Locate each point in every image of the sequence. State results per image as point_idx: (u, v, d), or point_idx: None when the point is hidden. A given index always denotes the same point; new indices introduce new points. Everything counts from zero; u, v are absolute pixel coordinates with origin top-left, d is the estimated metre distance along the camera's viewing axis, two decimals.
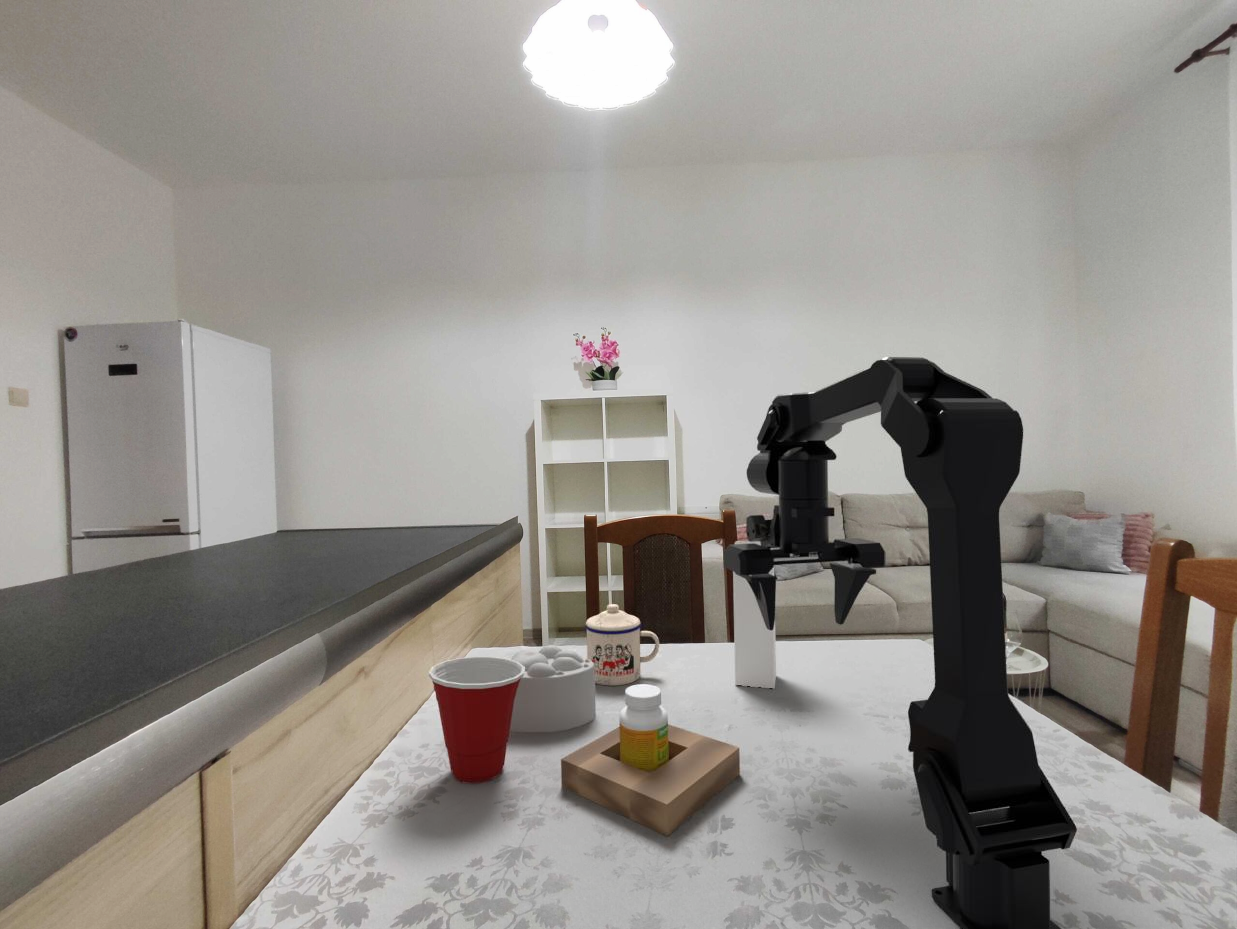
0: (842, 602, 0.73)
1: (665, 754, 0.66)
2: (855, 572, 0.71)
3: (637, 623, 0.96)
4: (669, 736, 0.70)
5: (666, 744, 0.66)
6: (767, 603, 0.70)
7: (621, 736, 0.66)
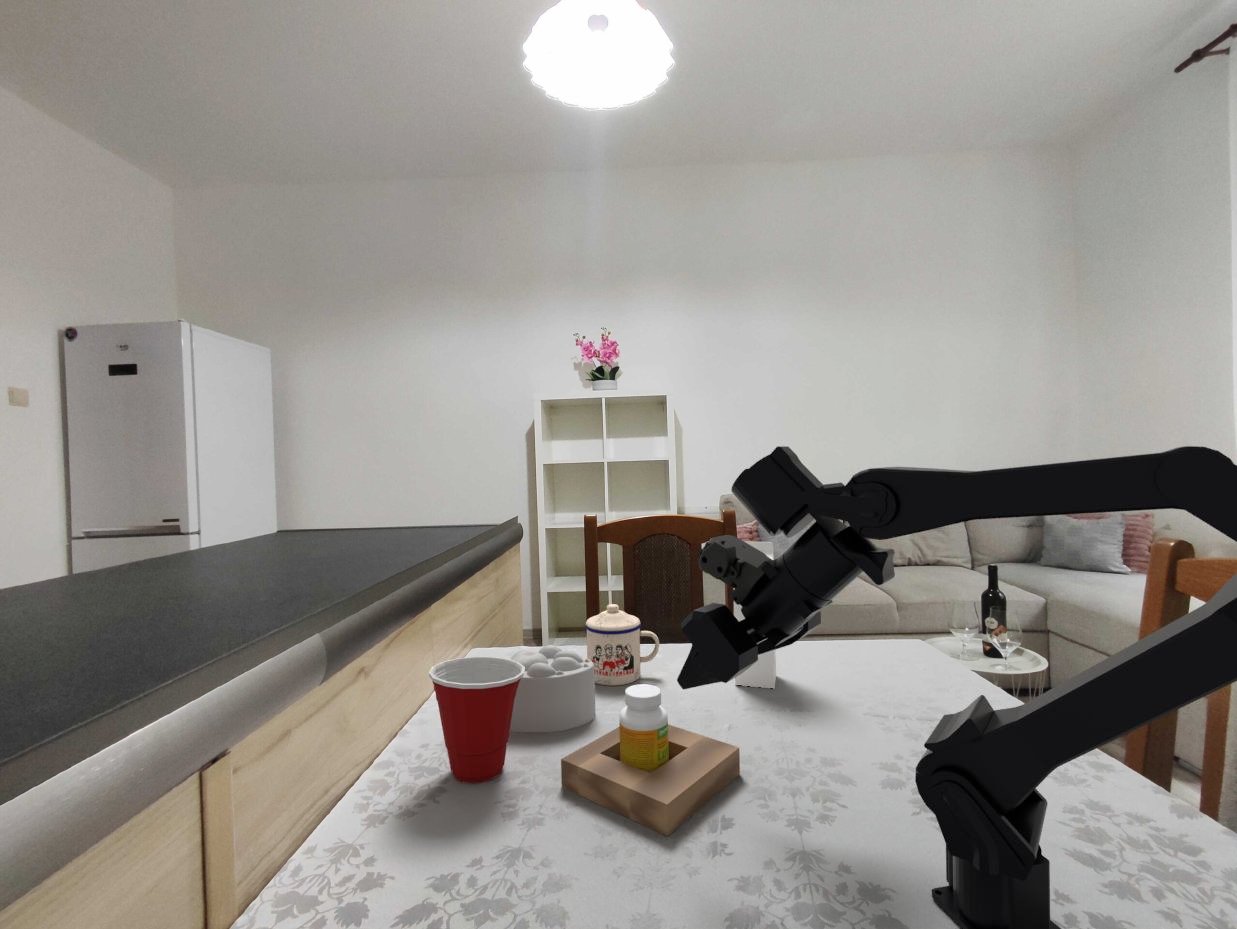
0: None
1: (665, 754, 0.66)
2: (789, 642, 0.61)
3: (637, 623, 0.96)
4: (669, 736, 0.70)
5: (666, 744, 0.66)
6: None
7: (621, 736, 0.66)
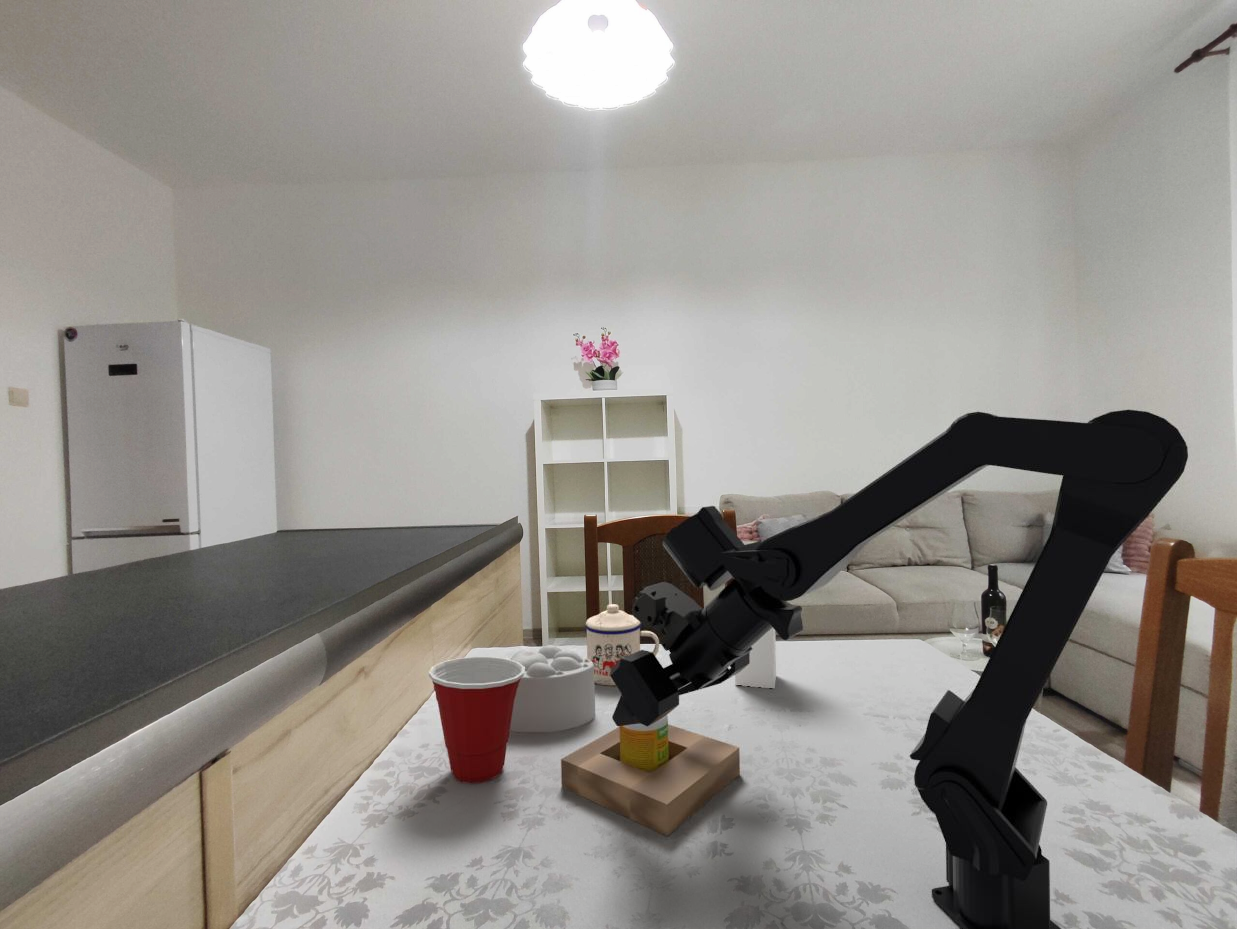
0: (683, 687, 0.69)
1: (665, 754, 0.66)
2: (718, 681, 0.67)
3: (637, 623, 0.96)
4: (669, 736, 0.70)
5: (666, 744, 0.66)
6: (637, 723, 0.60)
7: (621, 736, 0.66)
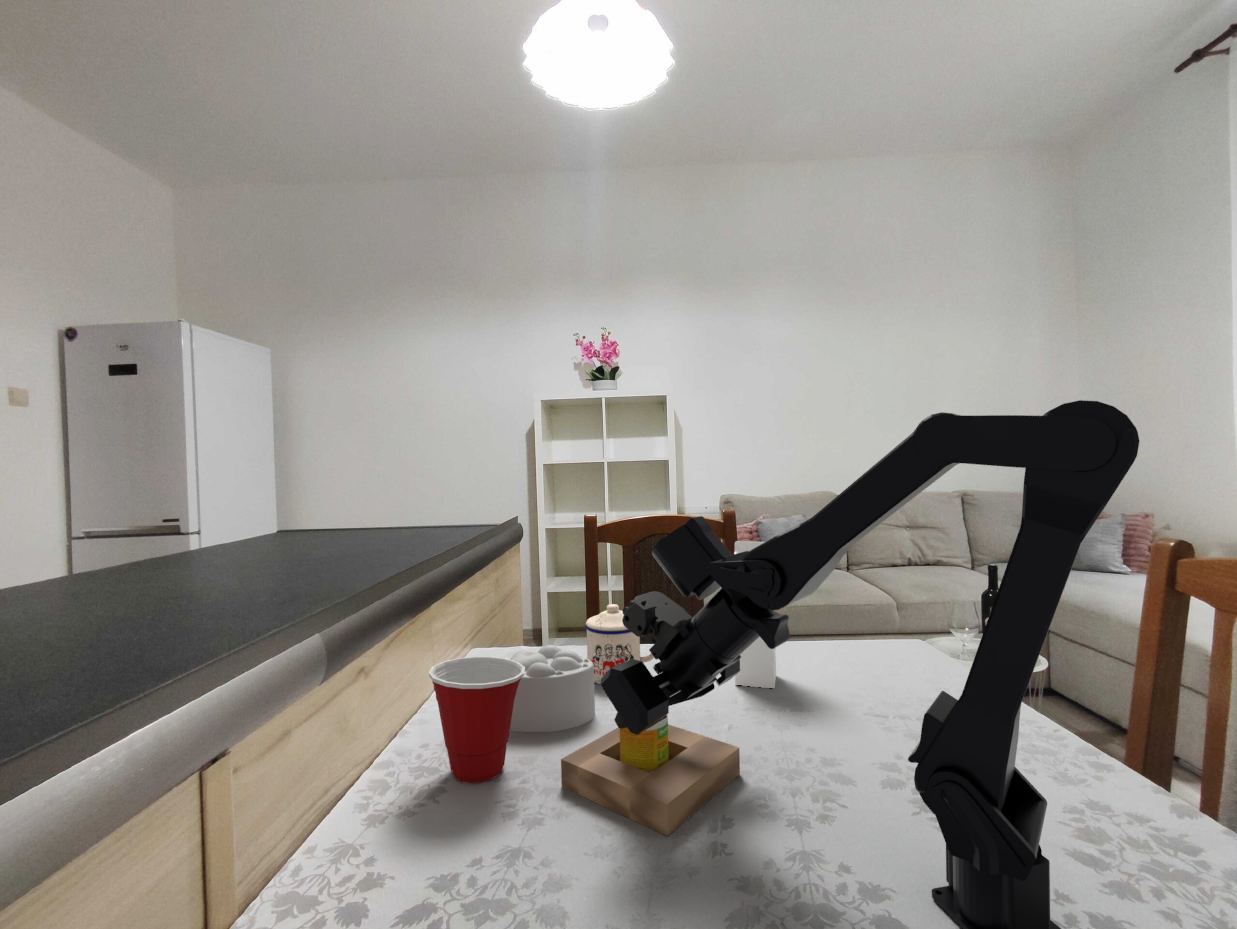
0: None
1: (665, 754, 0.66)
2: (700, 694, 0.66)
3: None
4: (669, 736, 0.70)
5: (666, 744, 0.66)
6: None
7: (621, 736, 0.66)
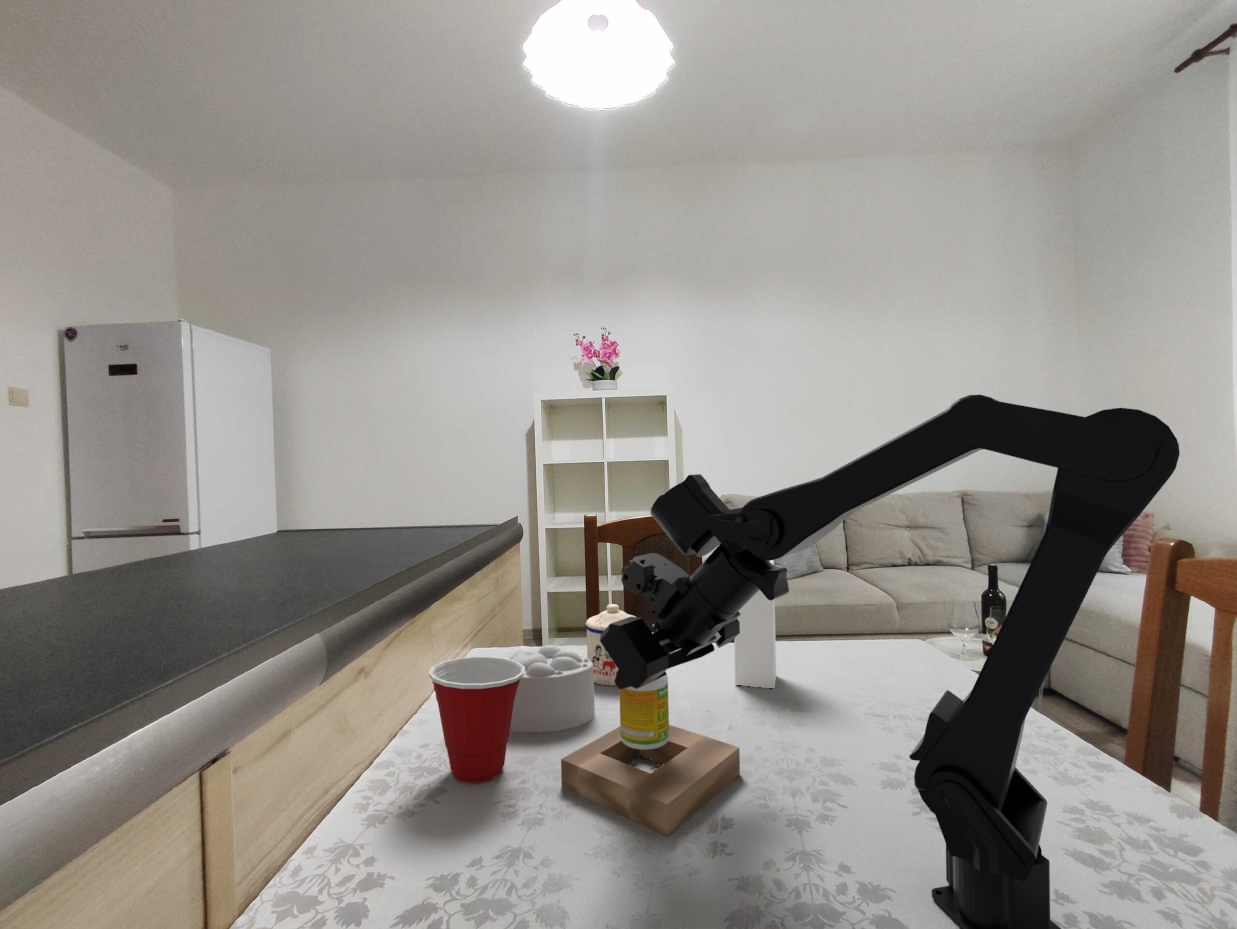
0: None
1: (665, 715, 0.65)
2: (700, 654, 0.66)
3: None
4: (669, 736, 0.70)
5: (666, 705, 0.66)
6: None
7: (621, 697, 0.66)
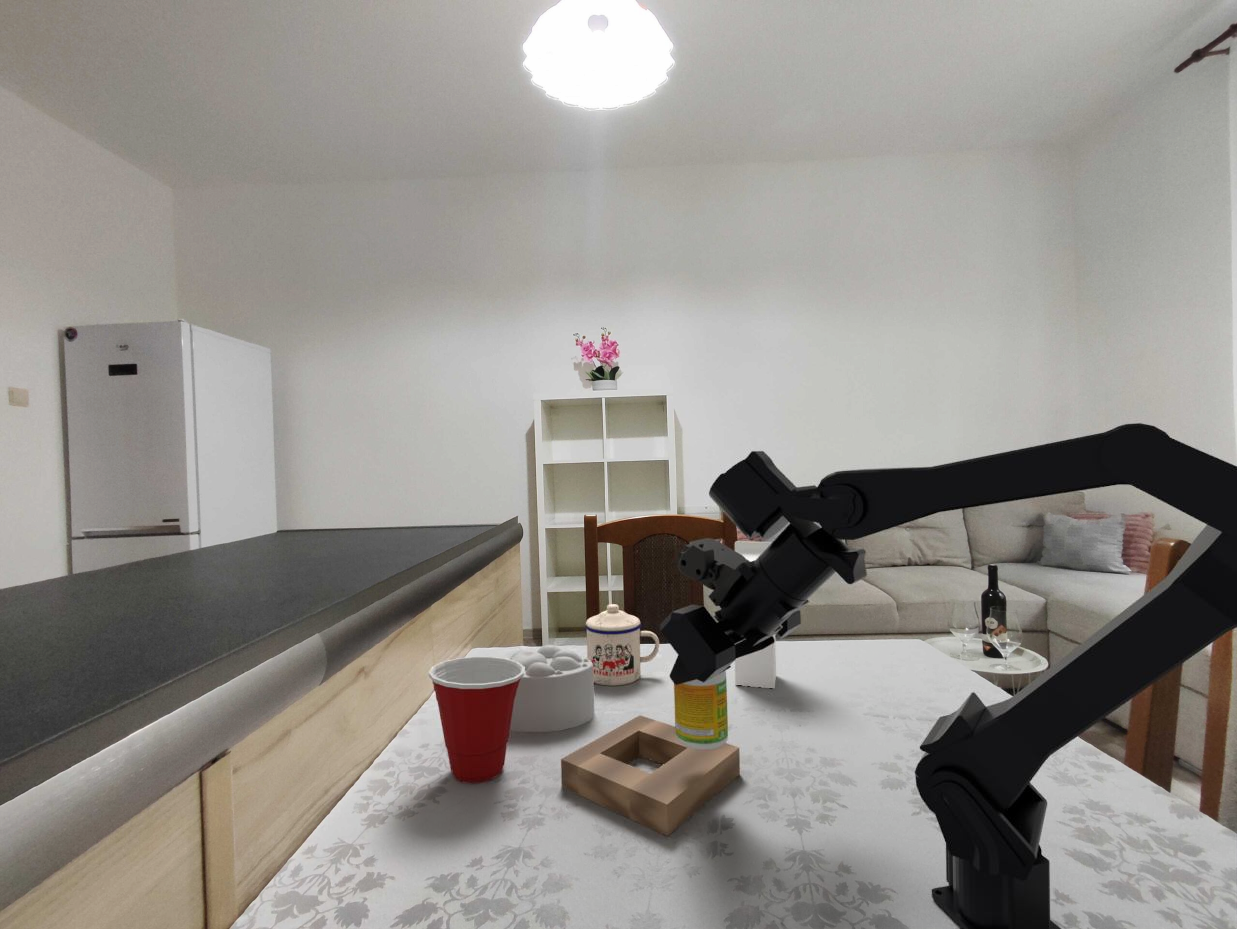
0: None
1: (725, 712, 0.61)
2: (761, 647, 0.61)
3: (637, 623, 0.96)
4: (669, 736, 0.70)
5: (725, 701, 0.61)
6: None
7: (676, 693, 0.61)
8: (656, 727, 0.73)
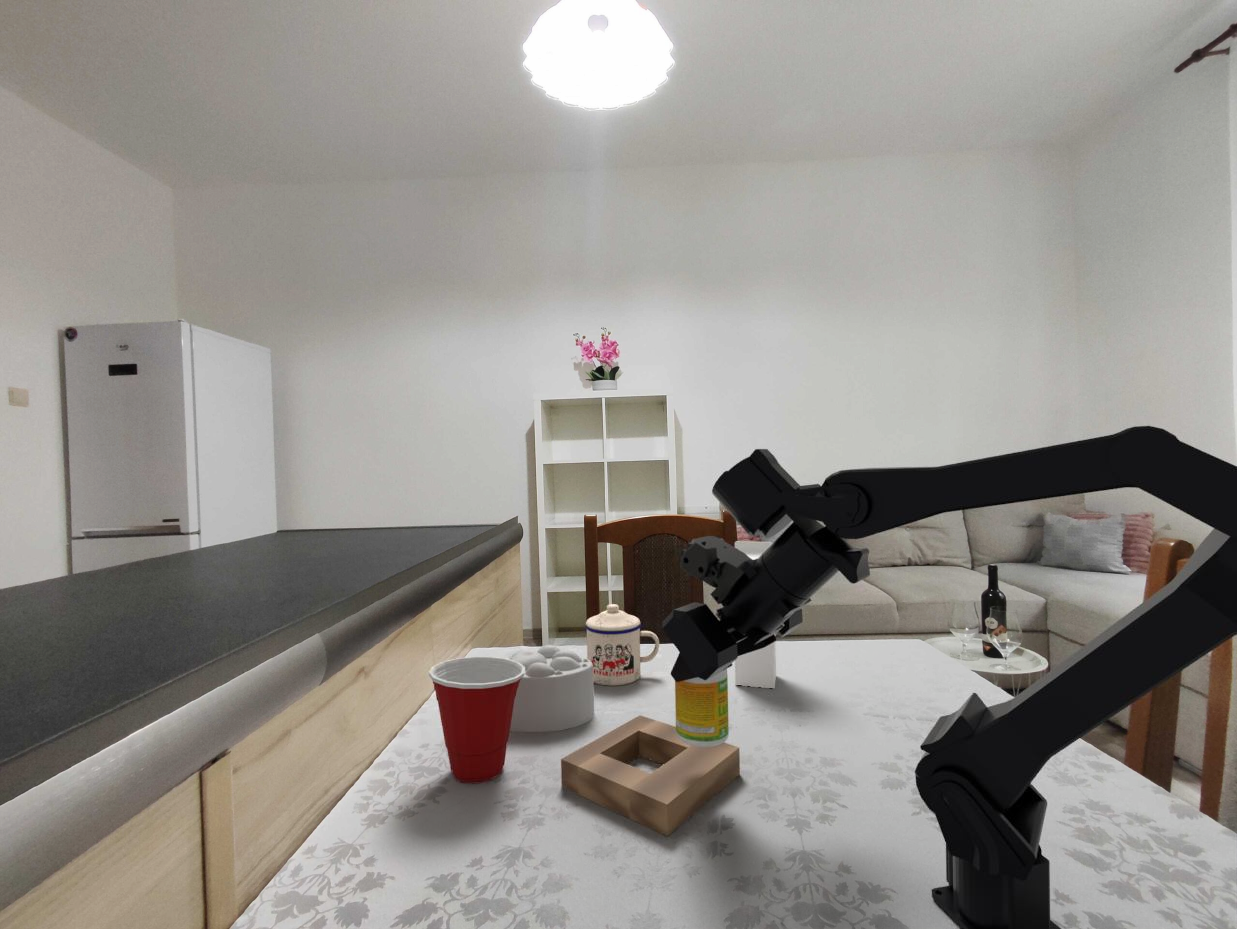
0: None
1: (726, 710, 0.61)
2: (763, 645, 0.61)
3: (637, 623, 0.96)
4: (669, 736, 0.70)
5: (726, 699, 0.61)
6: None
7: (677, 691, 0.61)
8: (656, 727, 0.73)
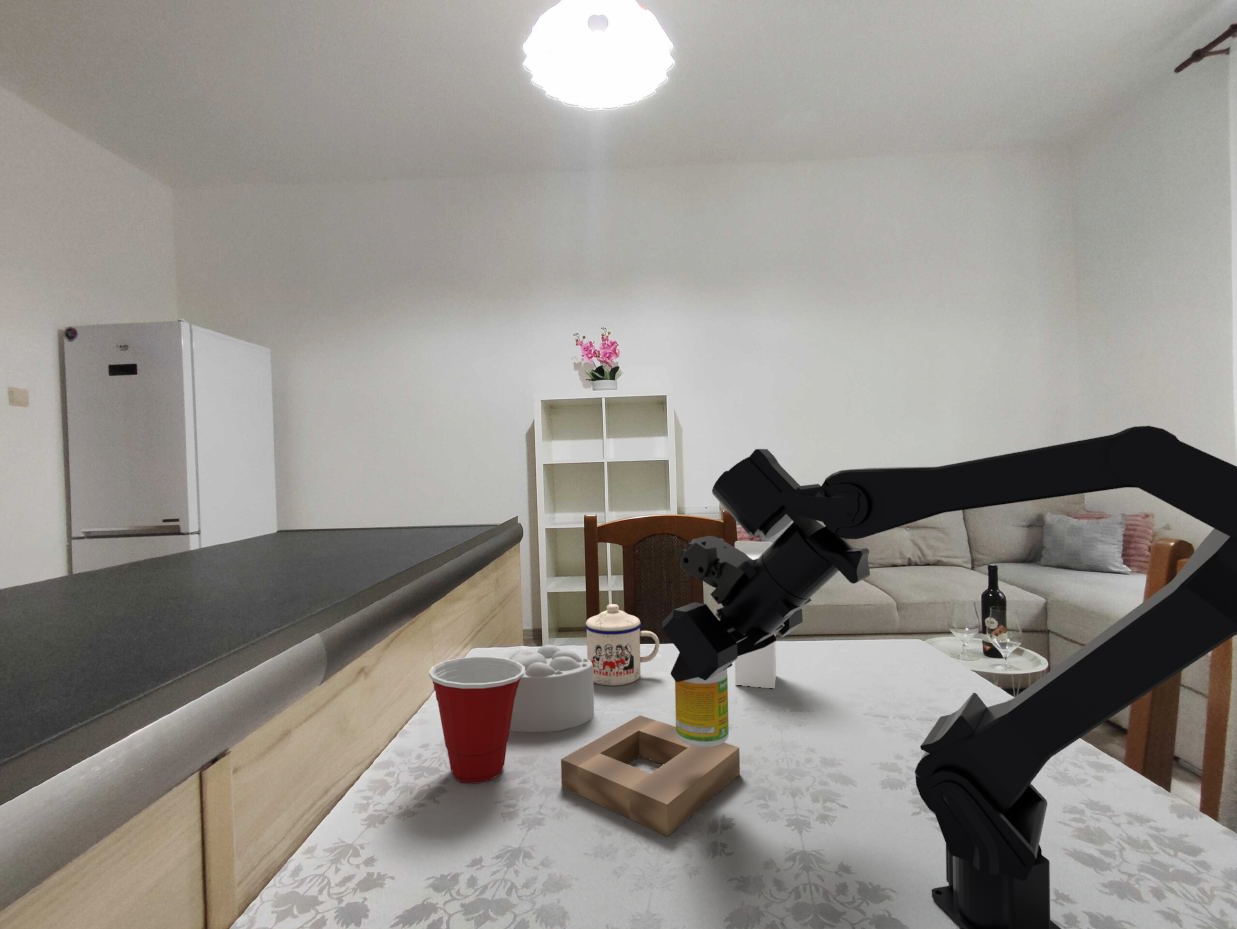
0: None
1: (726, 710, 0.61)
2: (763, 645, 0.61)
3: (637, 623, 0.96)
4: (669, 736, 0.70)
5: (726, 699, 0.61)
6: None
7: (677, 691, 0.61)
8: (656, 727, 0.73)
